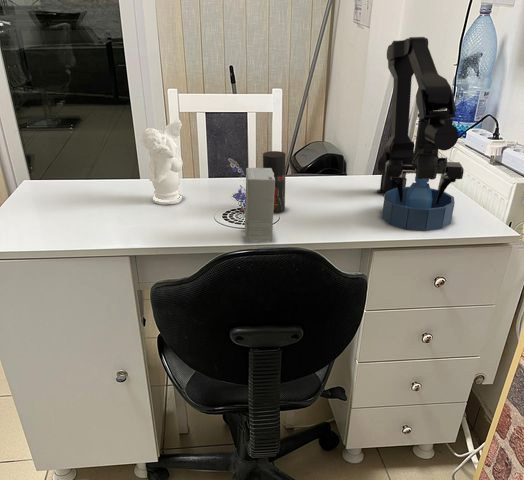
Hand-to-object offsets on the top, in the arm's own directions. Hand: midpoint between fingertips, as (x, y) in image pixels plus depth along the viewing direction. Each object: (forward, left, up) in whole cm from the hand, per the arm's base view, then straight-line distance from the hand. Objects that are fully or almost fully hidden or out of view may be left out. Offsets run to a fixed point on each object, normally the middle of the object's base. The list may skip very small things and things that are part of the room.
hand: (418, 202), depth 141 cm
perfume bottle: (0, 0, -4) cm, 4 cm away
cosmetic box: (-22, -37, -4) cm, 43 cm away
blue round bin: (0, 0, -4) cm, 4 cm away
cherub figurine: (-62, -35, -4) cm, 71 cm away
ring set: (-46, -20, -4) cm, 50 cm away
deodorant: (-32, -21, -4) cm, 39 cm away
